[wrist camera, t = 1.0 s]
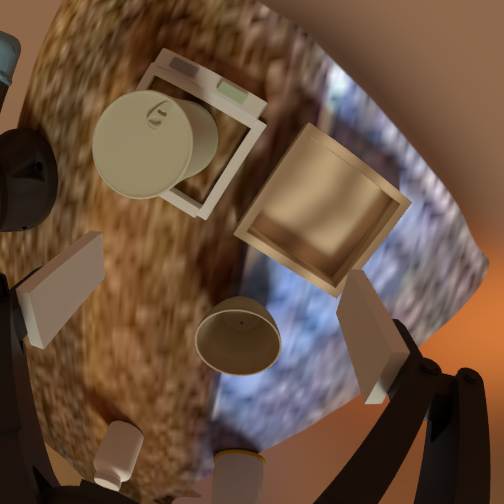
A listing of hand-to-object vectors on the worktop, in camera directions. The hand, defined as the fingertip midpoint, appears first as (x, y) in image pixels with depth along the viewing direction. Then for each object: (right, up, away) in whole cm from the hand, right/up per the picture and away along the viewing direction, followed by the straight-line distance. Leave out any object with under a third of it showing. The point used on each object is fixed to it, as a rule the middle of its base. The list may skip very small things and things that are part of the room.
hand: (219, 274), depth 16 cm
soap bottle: (-1, -43, +41) cm, 59 cm away
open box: (+9, +6, +20) cm, 23 cm away
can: (-7, +14, +18) cm, 24 cm away
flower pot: (0, -7, +26) cm, 27 cm away
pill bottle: (-25, -37, +40) cm, 60 cm away
